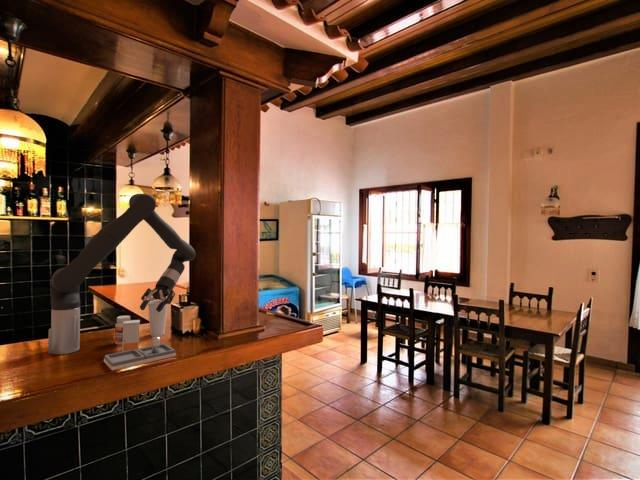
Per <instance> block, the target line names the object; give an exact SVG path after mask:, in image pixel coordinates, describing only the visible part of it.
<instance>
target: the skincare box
mask: <svg viewBox="0 0 640 480" xmlns="http://www.w3.org/2000/svg"><path fill="white" fill-rule="evenodd" d="M140 324H141V320H140V319H130V321H123V340H122V345H121V348H122V350H121V352H124V351H129V350H134V349H136V350H137V349H139V348H140V329H141V328H140Z"/></svg>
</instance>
